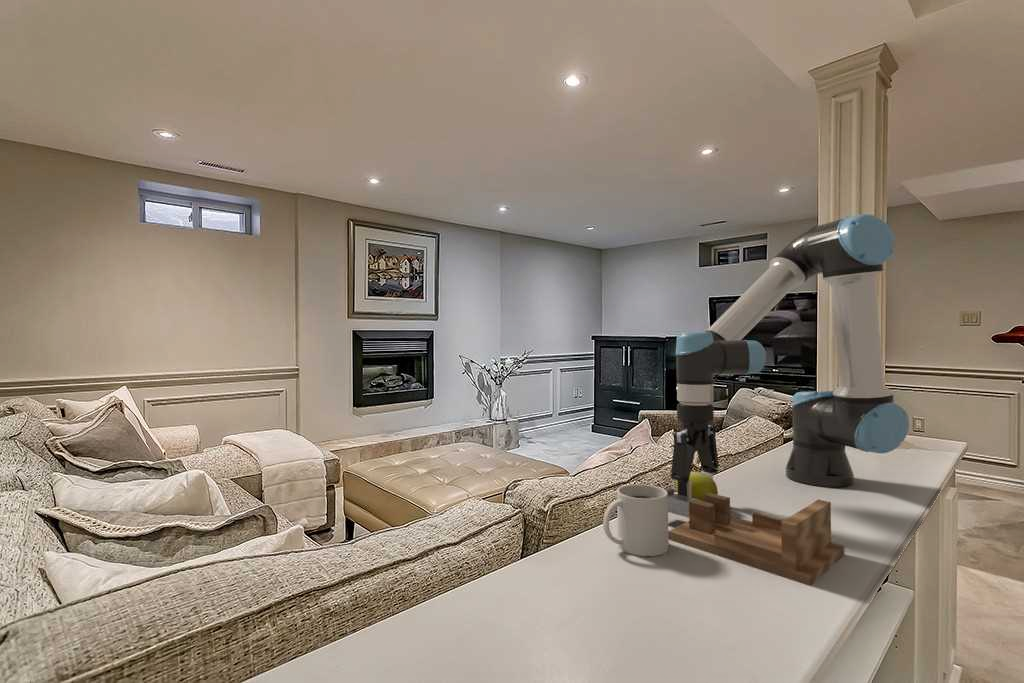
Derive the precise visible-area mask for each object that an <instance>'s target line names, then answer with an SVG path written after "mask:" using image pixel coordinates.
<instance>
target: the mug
mask: <svg viewBox="0 0 1024 683" xmlns="http://www.w3.org/2000/svg"><path fill="white" fill-rule="evenodd" d="M664 489H665V488H663V487H660V486H659V487H658V486H655V485H650V484H642V483H641V484H639V483H637V484H626V485H622V486H620V487H618V488H617V489H616V496H617V499H614V500H612V501H611V502H610V503H609V504H608V505H607V507H606V508H605V510H604V514H603V521H602V523H603V524H602V525H603V531H604V533H605V535H606V537H607V538H608V539H609V540H610V541H611V542H613V543H614V544H616V545H617V546H618V548H620V550H621V551H623V552H624V553H627V554H629V555H632V556H633V555H634V556H637V557H646V556H651V557H659V556H662V555H664V554H666V553H667V552H668V551H669V546H670V545H669V539H668V531H669V512H668V493H667V491H666V490H664ZM615 509H616V510H617V512H616V513H617V517H616V518H617V519H616V520H617V537H614V536H613V534H612V533H611V530H610V518H611V515H612V514H613V511H614V510H615ZM658 555H659V556H658Z"/></svg>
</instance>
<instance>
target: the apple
mask: <svg viewBox="0 0 1024 683" xmlns="http://www.w3.org/2000/svg"><path fill="white" fill-rule="evenodd" d="M689 481H690V482H691V493H692V498H695V499H699V500H703V501H705V495H707V494H709V493H712V494H716V495H719V493H718V492H719V491H718V486H717V483H716V482H715V480H714V478H713V479H711V478H710V477H708V476H706V475H704V474H702V473H700V471H698V472H697V471H691V473H690V477H689ZM675 485H676V486H675V487H676V489H674V492H675V493H676V494H678V481H677V480H676V483H675Z"/></svg>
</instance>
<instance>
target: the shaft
mask: <svg viewBox="0 0 1024 683" xmlns="http://www.w3.org/2000/svg"><path fill="white" fill-rule="evenodd" d="M663 489H664V490H666V491H667V493H668V513H670V514H673V515H674V514H675V515H678V516H681V517H685V518H688V519H689V502H690V501H693V500H698V501H702V502H706V503H710V504H714V503H711V502H707V501H703V500H699V499H695V498H690V497H686V496H682V495H678V494H677V493H674V492H675V489H674V488H673V487H672V488H671V487H667V488H663Z"/></svg>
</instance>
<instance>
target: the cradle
mask: <svg viewBox="0 0 1024 683" xmlns="http://www.w3.org/2000/svg"><path fill="white" fill-rule="evenodd" d="M705 501H707V502H711V503H714V504H710V503H706V502H702V501H698V500H693V501H690V502H689V518H688V519H689V521H687V522H684V523H682V524H680V525H678V526H675V527H673V528H672V529H668V540H669V541H673V542H676V543H678V544H682V545H685V546H689V547H692V548H694V549H697V550H701V551H703V552H707V553H710V554H713V555H715V556H718V557H723V558H725V559H727V560H731V561H734V562H738V563H741V564H743V565H746V566H750V567H751V568H756V569H758V570H762V571H765V572H768V573H771V574H774V575H776V576H780V577H783V578H786V579H789V580H791V581H795V582H798V583H802V584H805V585H807V586H811V585H813V583H814V582H815V581H817V580H818V579H819V578H820V577H821V576H822V575H823V574H825V572H826V571H828V570H829V569H830V568H831V567H832V566H834V564H836V563H837V562H838V561H839V560H840V559H841V558H842V557H843V556H844V555H845V545H842V544H840V543H836V542H832V508H831V507H832V502H830V501H828V500H821V499H817V500H814V502H812V503H810V504H808V505H807V506H805V507H803V508H802V509H800V510H798V511H797V512H796V513H794V514H792V515H791V516H789V517H788V518H786V519H783V518H780V517H776V516H772V515H768V514H765V513H761V512H756V511H755V512H752V514H751V516H752V518H751V519H752V521H751V520H747V519H743V518H740V517H736V516H732V515H731V497H730V496H729V497H728V496H724V495H720V494H718V495H716V494H712V493H709V494H707V495H705Z"/></svg>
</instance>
